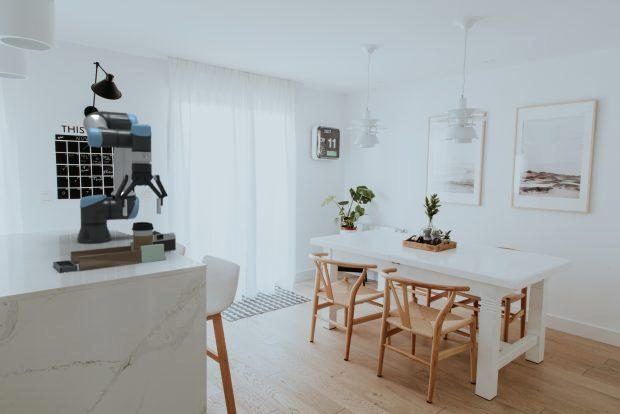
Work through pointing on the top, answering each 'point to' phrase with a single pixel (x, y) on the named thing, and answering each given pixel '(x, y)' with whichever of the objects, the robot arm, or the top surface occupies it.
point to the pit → (65, 266)
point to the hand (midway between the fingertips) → (142, 214)
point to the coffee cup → (142, 234)
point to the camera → (165, 240)
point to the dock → (151, 252)
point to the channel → (106, 257)
